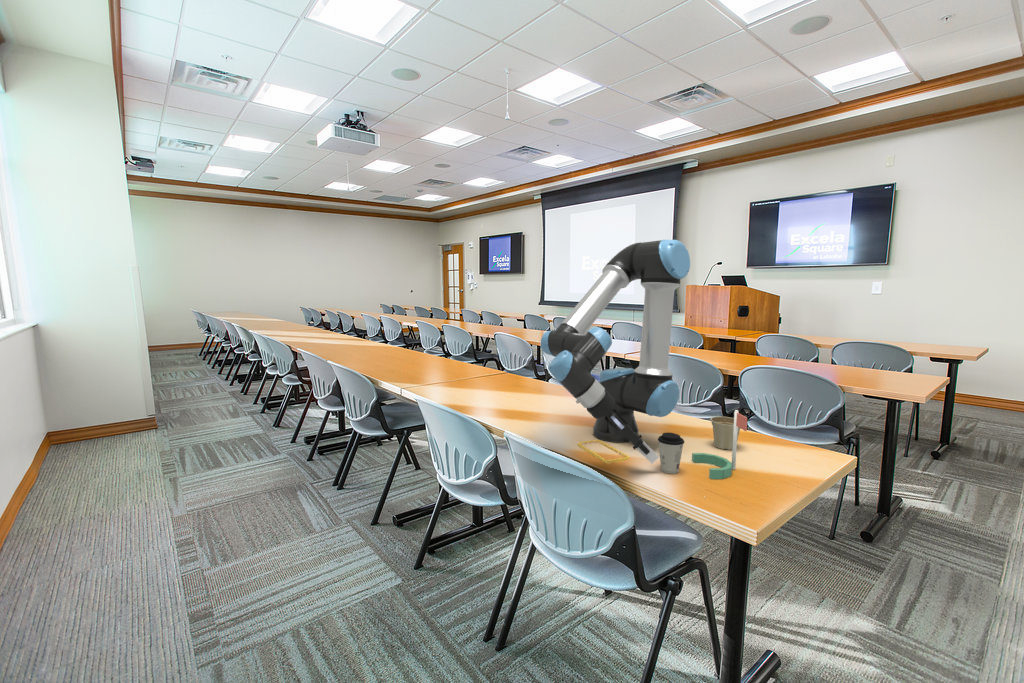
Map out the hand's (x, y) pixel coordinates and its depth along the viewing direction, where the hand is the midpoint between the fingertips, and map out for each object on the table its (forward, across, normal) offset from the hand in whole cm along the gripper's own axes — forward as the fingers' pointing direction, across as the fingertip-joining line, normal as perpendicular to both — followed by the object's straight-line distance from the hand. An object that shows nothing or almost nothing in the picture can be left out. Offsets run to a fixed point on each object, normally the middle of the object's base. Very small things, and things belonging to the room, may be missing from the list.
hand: (654, 459), depth 123 cm
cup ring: (+15, -2, +10) cm, 18 cm away
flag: (+18, +1, +14) cm, 23 cm away
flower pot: (+23, -20, +18) cm, 35 cm away
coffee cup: (+6, -1, +1) cm, 6 cm away
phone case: (-5, -16, -11) cm, 20 cm away
